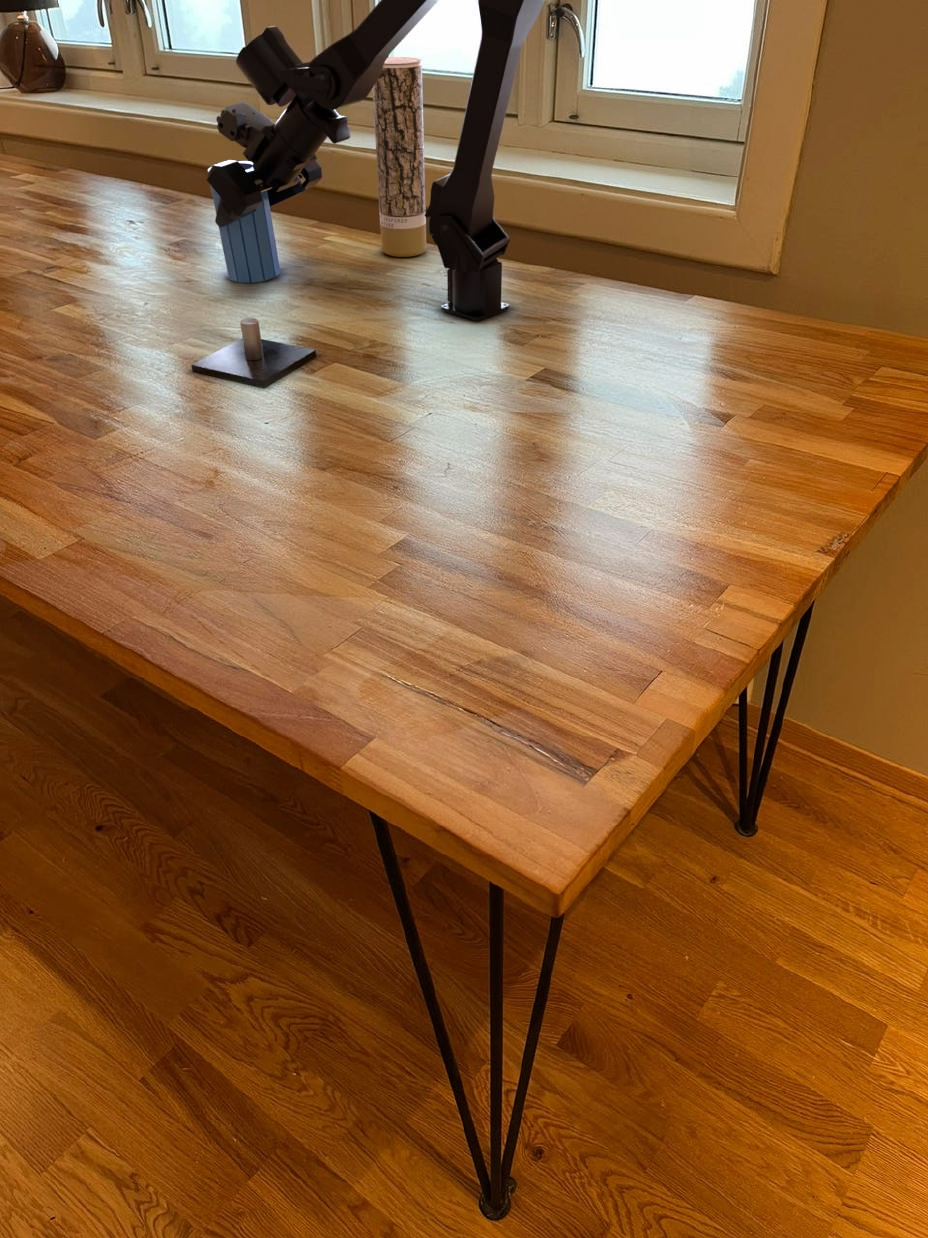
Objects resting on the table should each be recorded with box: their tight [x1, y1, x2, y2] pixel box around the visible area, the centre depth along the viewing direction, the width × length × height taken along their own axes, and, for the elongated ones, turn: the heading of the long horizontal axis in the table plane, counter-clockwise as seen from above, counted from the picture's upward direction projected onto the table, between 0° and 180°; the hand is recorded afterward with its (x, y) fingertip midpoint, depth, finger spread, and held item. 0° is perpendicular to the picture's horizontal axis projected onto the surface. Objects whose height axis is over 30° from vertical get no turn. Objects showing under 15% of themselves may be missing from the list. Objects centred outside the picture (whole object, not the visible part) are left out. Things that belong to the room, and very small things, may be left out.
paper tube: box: [372, 56, 427, 258], centre depth 133 cm, size 7×7×25 cm
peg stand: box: [190, 317, 317, 389], centre depth 105 cm, size 10×10×5 cm
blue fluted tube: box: [206, 160, 281, 284], centre depth 128 cm, size 7×7×14 cm
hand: (236, 216), depth 128 cm, fingers closed on blue fluted tube, 8 cm apart
